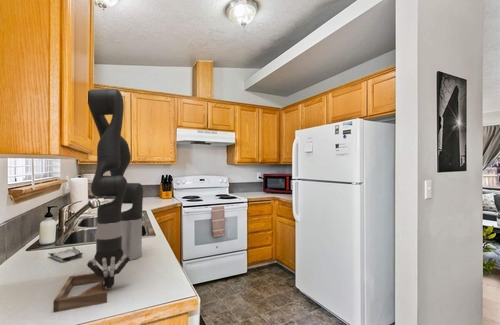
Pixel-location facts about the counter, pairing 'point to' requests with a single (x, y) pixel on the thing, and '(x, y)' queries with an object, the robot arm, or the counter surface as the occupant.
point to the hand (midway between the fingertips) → (109, 287)
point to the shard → (95, 289)
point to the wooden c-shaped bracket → (81, 300)
